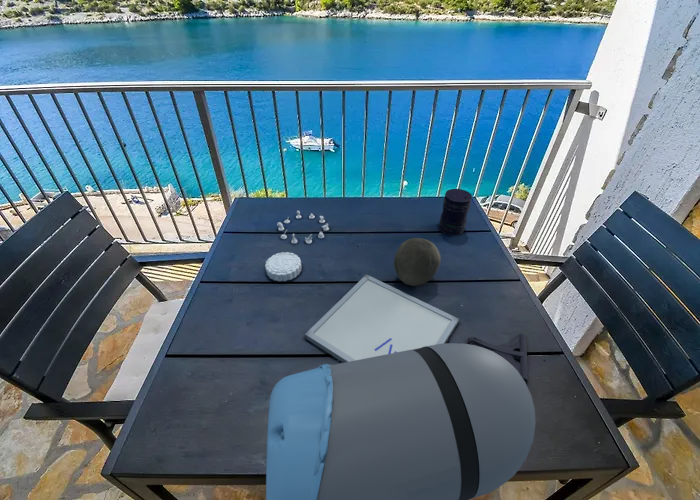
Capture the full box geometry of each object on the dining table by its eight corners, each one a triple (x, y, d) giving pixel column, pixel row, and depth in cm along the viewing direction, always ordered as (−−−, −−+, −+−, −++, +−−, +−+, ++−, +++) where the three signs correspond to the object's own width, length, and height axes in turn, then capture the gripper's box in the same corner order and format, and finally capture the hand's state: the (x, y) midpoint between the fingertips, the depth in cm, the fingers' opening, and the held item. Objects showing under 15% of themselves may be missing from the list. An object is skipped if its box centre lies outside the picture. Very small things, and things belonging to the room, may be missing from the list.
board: (407, 404, 82) (408, 400, 80) (305, 338, 96) (304, 334, 95) (457, 323, 100) (459, 318, 99) (366, 278, 115) (366, 274, 114)
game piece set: (269, 239, 132) (268, 230, 130) (291, 212, 147) (290, 204, 145) (317, 248, 128) (316, 240, 126) (335, 219, 143) (334, 211, 141)
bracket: (469, 324, 100) (471, 317, 99) (525, 338, 96) (528, 332, 95) (464, 365, 90) (466, 359, 88) (526, 383, 86) (530, 377, 84)
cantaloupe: (431, 299, 108) (439, 262, 99) (387, 288, 112) (391, 251, 102) (438, 270, 118) (446, 235, 109) (398, 261, 122) (402, 226, 113)
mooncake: (261, 280, 115) (259, 272, 112) (272, 257, 124) (270, 249, 122) (297, 283, 113) (296, 275, 111) (305, 259, 123) (304, 251, 121)
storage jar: (434, 229, 138) (440, 195, 128) (446, 218, 143) (452, 186, 134) (457, 238, 133) (465, 204, 123) (468, 227, 138) (477, 194, 129)
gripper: (372, 393, 80) (473, 390, 81) (379, 472, 67) (499, 468, 68) (374, 375, 75) (481, 372, 76) (381, 456, 63) (510, 452, 63)
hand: (489, 417), depth 72 cm, fingers closed on eraser, 3 cm apart
